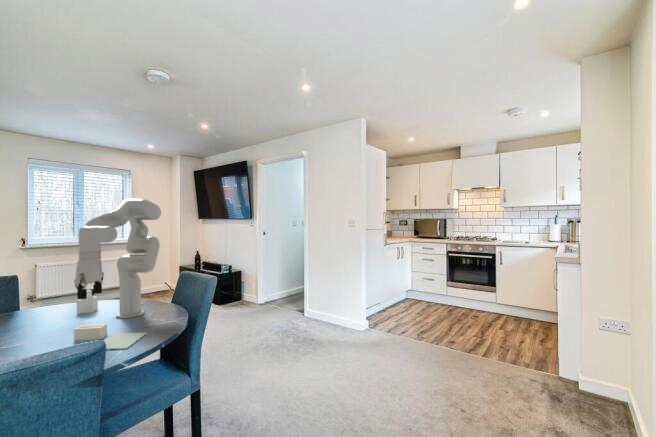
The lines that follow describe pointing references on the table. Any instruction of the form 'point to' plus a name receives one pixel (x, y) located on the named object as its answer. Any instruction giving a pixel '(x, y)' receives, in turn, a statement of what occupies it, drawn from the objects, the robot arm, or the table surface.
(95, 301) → the medicine bottle
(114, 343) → the mat
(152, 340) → the table surface
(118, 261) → the robot arm
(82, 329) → the cream rectangular box
